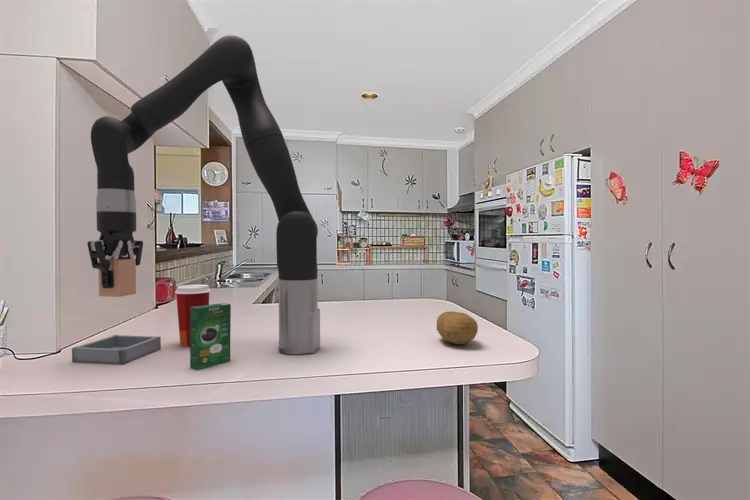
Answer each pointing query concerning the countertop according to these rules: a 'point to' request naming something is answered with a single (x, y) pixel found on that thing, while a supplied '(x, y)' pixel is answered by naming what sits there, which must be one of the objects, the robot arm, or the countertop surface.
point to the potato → (457, 327)
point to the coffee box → (210, 335)
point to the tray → (116, 349)
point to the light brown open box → (121, 279)
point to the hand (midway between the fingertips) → (118, 286)
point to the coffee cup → (189, 307)
